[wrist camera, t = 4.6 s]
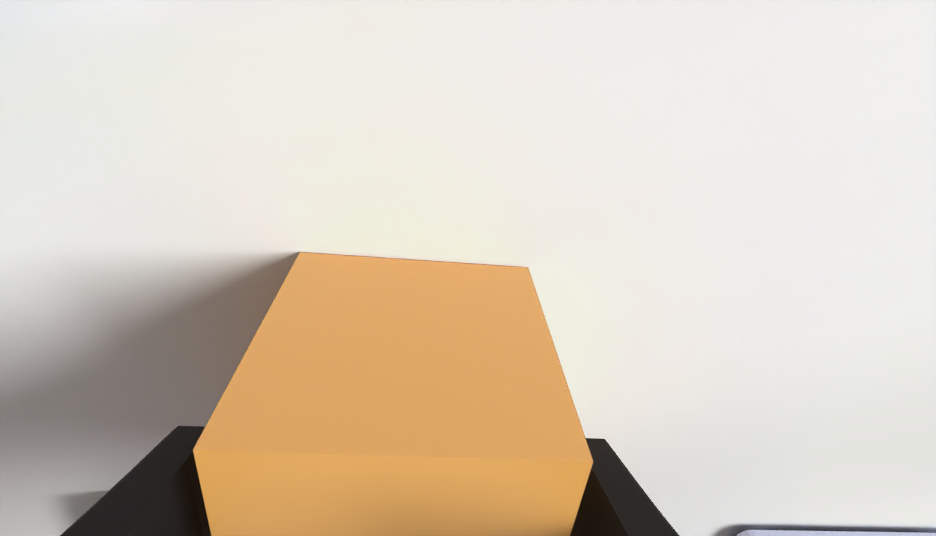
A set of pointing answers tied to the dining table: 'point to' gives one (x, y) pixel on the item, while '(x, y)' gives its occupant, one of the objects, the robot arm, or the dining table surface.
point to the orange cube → (396, 409)
